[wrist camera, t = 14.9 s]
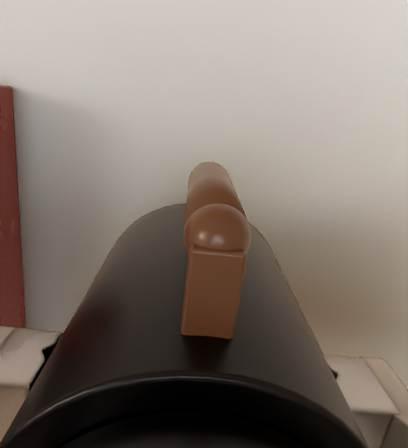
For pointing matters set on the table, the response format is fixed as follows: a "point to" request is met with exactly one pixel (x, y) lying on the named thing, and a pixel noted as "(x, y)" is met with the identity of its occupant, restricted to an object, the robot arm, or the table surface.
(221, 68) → the table surface
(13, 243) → the warming base
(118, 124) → the table surface
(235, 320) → the kettle
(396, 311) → the table surface
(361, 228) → the table surface
